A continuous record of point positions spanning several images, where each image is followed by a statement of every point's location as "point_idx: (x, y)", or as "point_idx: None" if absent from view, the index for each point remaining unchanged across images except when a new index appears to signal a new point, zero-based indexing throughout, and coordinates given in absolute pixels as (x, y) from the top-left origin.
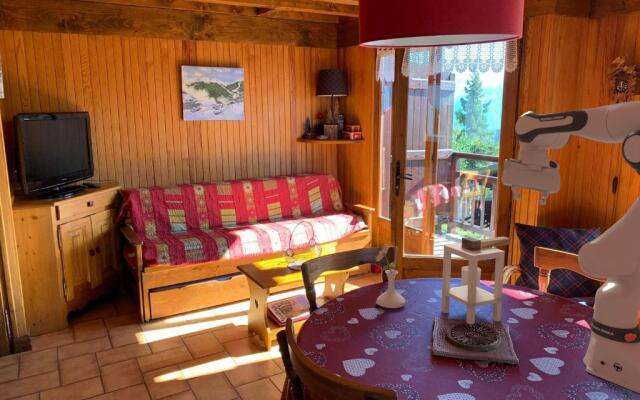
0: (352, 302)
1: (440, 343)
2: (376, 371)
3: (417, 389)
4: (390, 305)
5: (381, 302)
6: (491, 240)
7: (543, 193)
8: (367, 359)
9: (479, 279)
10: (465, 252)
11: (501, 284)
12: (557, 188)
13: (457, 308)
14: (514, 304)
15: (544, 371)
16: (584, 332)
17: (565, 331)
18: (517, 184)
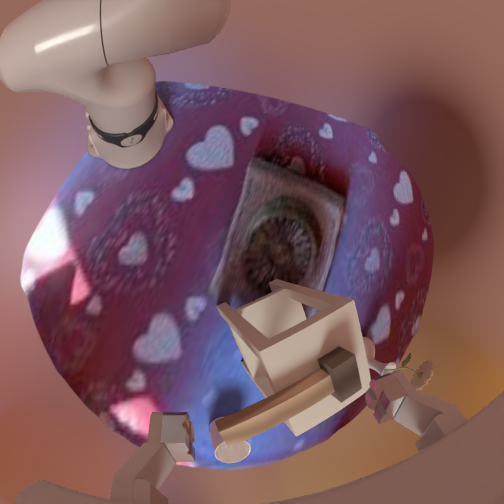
0: (388, 356)
1: (330, 226)
2: (392, 174)
3: (366, 134)
4: (365, 337)
5: (373, 344)
6: (285, 402)
7: (161, 497)
8: (398, 199)
9: (215, 434)
10: (358, 329)
11: (236, 322)
12: (36, 501)
13: None
14: (163, 376)
15: (228, 133)
16: (95, 250)
17: (123, 256)
18: (467, 420)
